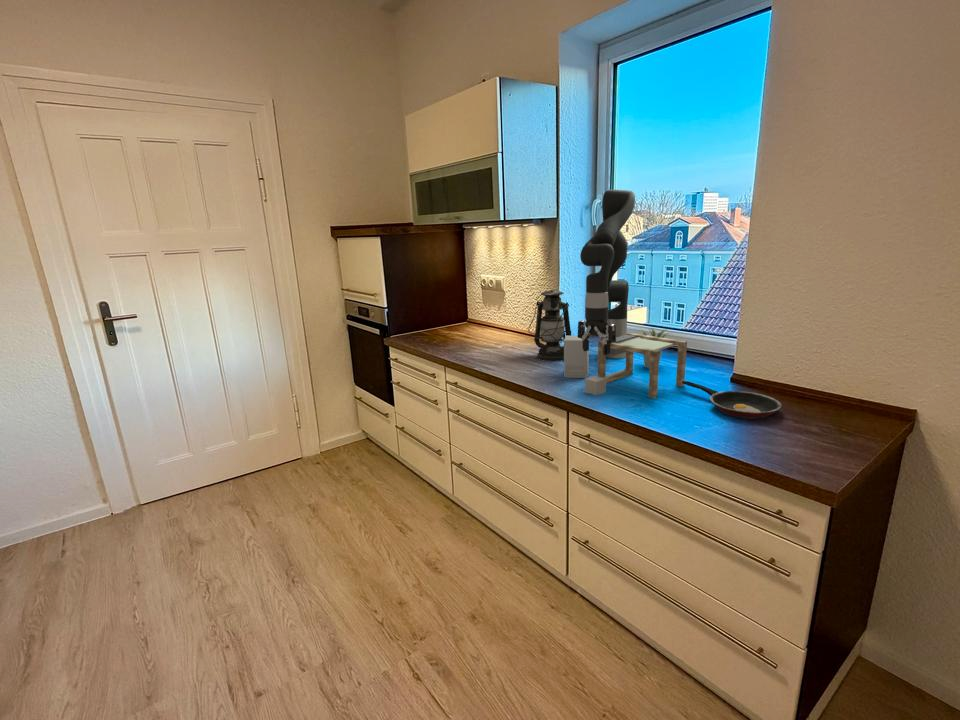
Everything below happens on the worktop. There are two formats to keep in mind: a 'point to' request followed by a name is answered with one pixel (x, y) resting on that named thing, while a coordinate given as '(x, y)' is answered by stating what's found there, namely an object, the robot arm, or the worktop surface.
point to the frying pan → (741, 402)
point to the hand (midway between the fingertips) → (595, 352)
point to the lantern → (551, 326)
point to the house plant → (647, 357)
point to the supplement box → (575, 358)
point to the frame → (653, 361)
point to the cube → (595, 385)
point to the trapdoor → (638, 344)
